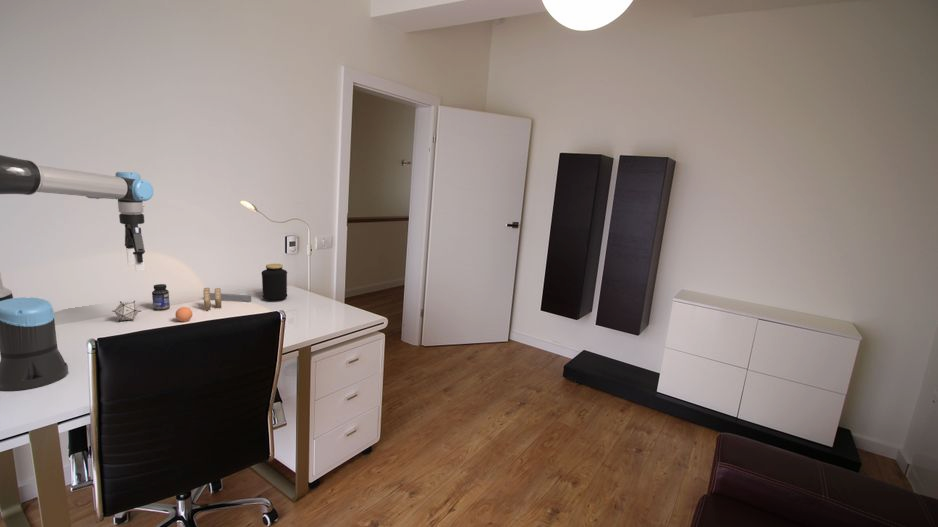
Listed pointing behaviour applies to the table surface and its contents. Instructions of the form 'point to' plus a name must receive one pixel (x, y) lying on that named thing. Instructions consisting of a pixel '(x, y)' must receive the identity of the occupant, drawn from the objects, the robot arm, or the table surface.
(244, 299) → the back wall
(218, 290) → the pin
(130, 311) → the game die
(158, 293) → the pill bottle
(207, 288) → the pin
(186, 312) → the ball
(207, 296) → the pin front
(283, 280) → the container
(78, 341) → the table surface
